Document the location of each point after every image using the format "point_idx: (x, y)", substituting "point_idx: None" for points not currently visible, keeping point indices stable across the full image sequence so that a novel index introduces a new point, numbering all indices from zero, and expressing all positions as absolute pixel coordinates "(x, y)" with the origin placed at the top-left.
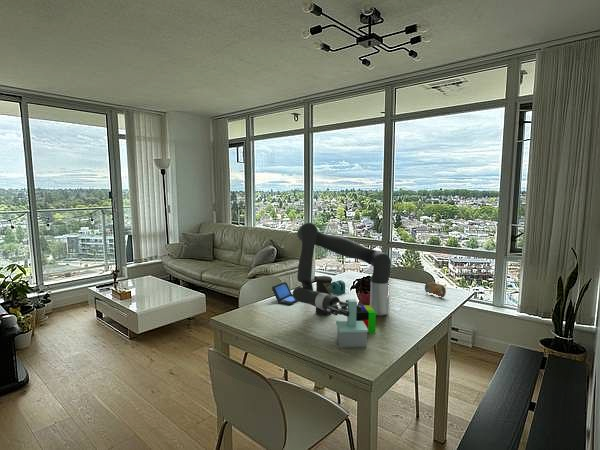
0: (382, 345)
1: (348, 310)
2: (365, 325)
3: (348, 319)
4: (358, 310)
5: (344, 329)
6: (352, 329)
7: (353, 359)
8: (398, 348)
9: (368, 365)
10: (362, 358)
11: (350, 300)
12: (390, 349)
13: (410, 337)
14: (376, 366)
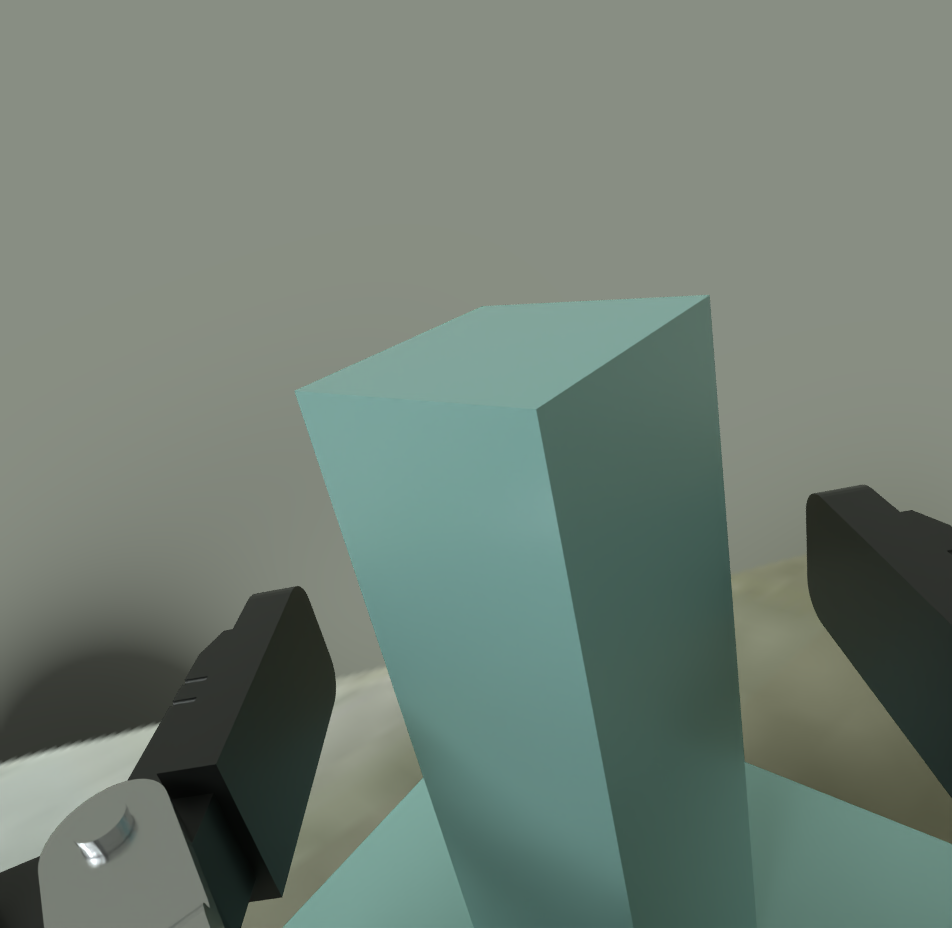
0: (367, 830)
1: (703, 659)
2: (402, 801)
3: (733, 847)
4: (313, 726)
5: (945, 875)
6: (751, 791)
7: (914, 761)
8: (330, 717)
9: (808, 636)
10: (791, 734)
11: (562, 341)
12: (398, 735)
13: (16, 807)
14: (748, 608)
